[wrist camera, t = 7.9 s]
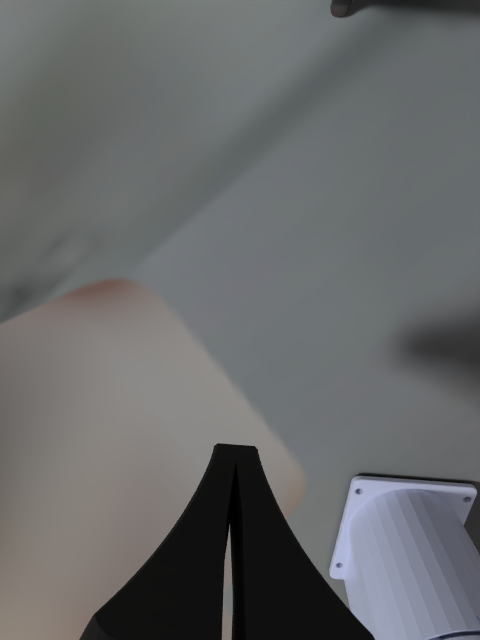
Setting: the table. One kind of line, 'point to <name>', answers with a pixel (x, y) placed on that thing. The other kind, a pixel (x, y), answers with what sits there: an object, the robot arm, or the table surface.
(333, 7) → the alarm clock
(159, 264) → the table surface
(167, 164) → the table surface
